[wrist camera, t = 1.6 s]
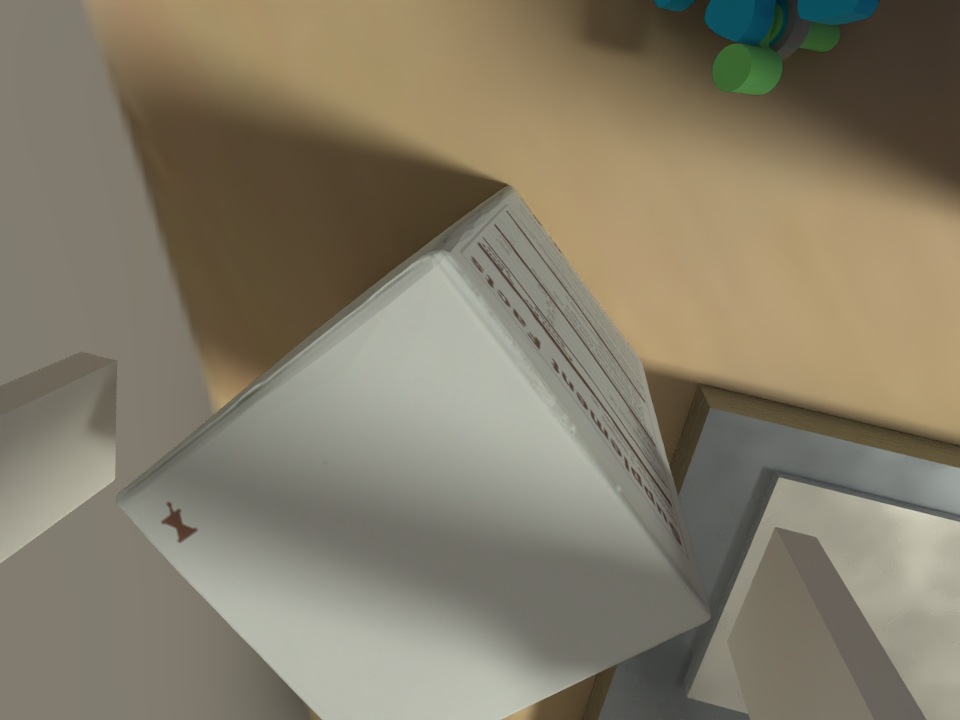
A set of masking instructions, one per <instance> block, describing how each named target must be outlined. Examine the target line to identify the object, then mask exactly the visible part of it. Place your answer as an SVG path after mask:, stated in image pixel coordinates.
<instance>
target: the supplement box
mask: <svg viewBox="0 0 960 720" xmlns="http://www.w3.org/2000/svg"><path fill="white" fill-rule="evenodd" d="M116 502H117V504H118V505H119V506H120V507H121V508H122V509H123V510H124V512H125V513H126V514H127V515H128V516H129V517H130V518H131V520H132V521H133V522H134V523H135V524H136V525H137V527H138V528H139V529H140V530H141V531H142V532H143V533H144V535H145V536H146V537H147V538H148V539H149V540H150V541H151V543H152V544H153V545H154V546H155V547H156V548H157V549H158V550H159V551H160V552H161V553H162V555H163V556H164V557H165V558H166V559H167V560H168V561H169V562H170V563H171V564H172V565H173V566H174V567H175V568H176V569H177V570H178V572H179V573H180V574H181V575H182V576H183V577H184V578H185V579H186V580H187V581H188V582H189V583H190V584H191V585H192V586H193V587H194V588H195V589H196V590H197V591H198V592H199V593H200V595H202V597H203V598H205V599H206V601H207V602H208V603H210V605H211V606H212V607H213V608H214V609H215V610H216V611H217V612H218V613H219V614H220V615H221V616H222V617H223V618H224V619H225V620H226V621H227V622H228V623H229V624H230V626H231V627H232V628H233V629H234V630H235V631H236V632H237V633H238V634H239V635H240V636H241V637H242V638H243V639H244V640H245V641H246V642H247V643H248V644H249V645H250V646H251V647H252V648H253V649H254V650H255V651H256V652H257V653H258V654H259V655H260V656H261V657H262V658H263V659H264V660H265V662H266V663H267V664H268V665H269V666H270V667H271V668H272V669H273V670H274V671H275V672H276V673H277V674H278V675H279V676H280V677H281V678H282V679H283V680H284V681H285V682H286V683H287V685H288V686H289V687H290V688H291V689H292V690H293V691H294V692H295V693H296V694H297V695H298V696H299V697H300V698H301V699H302V700H303V701H304V702H305V703H306V704H307V705H308V706H309V707H310V708H311V709H312V710H313V711H314V712H315V713H316V714H317V715H318V716H319V717H320V718H321V719H322V720H501V719H503V718H505V717H508V716H510V715H512V714H514V713H516V712H518V711H520V710H522V709H524V708H526V707H529V706H531V705H533V704H535V703H537V702H539V701H541V700H543V699H545V698H547V697H549V696H551V695H553V694H556V693H558V692H560V691H562V690H564V689H566V688H568V687H570V686H572V685H574V684H576V683H578V682H581V681H583V680H585V679H587V678H589V677H591V676H593V675H595V674H597V673H599V672H601V671H603V670H606V669H608V668H610V667H612V666H614V665H616V664H618V663H620V662H623V661H625V660H627V659H629V658H631V657H633V656H635V655H638V654H640V653H642V652H644V651H646V650H648V649H650V648H652V647H655V646H657V645H659V644H661V643H663V642H665V641H667V640H668V639H671V638H673V637H675V636H677V635H679V634H682V633H684V632H686V631H688V630H690V629H693V628H695V627H697V626H699V625H701V624H703V623H706V622H707V621H708V620H709V619H711V612H710V608H709V605H708V601H707V597H706V593H705V590H704V586H703V582H702V579H701V575H700V572H699V569H698V566H697V562H696V558H695V554H694V551H693V547H692V544H691V541H690V537H689V534H688V529H687V525H686V521H685V518H684V515H683V511H682V508H681V504H680V501H679V497H678V494H677V490H676V487H675V483H674V480H673V477H672V473H671V470H670V467H669V464H668V460H667V457H666V452H665V448H664V444H663V441H662V437H661V434H660V430H659V426H658V421H657V418H656V414H655V411H654V405H653V403H652V399H651V396H650V392H649V388H648V384H647V380H646V376H645V372H644V368H643V365H642V362H641V359H640V358H639V356H638V355H637V354H636V353H635V351H634V350H633V349H632V348H631V346H630V345H629V343H628V342H627V341H626V339H625V338H624V337H623V335H622V334H621V333H620V331H619V330H618V329H617V327H616V326H615V325H614V323H613V322H612V321H611V319H610V318H609V316H608V315H607V314H606V312H605V311H604V310H603V308H602V307H601V306H600V304H599V303H598V302H597V300H596V299H595V297H594V296H593V295H592V293H591V292H590V291H589V289H588V288H587V287H586V285H585V284H584V282H583V281H582V280H581V278H580V277H579V276H578V274H577V273H576V272H575V270H574V269H573V267H572V266H571V265H570V263H569V262H568V261H567V259H566V258H565V257H564V255H563V254H562V252H561V251H560V250H559V248H558V247H557V246H556V244H555V243H554V242H553V240H552V239H551V237H550V236H549V235H548V233H547V232H546V231H545V229H544V228H543V227H542V225H541V224H540V222H539V221H538V220H537V218H536V217H535V216H534V214H533V213H532V212H531V210H530V209H529V208H528V206H527V205H526V204H525V202H524V201H523V200H522V198H521V197H520V196H519V194H518V193H517V192H516V190H515V189H514V188H513V187H512V186H509V185H508V186H506V187H504V188H503V189H501V190H500V191H498V192H497V193H496V194H494V195H493V196H491V197H490V198H488V199H487V200H486V201H484V202H483V203H481V204H480V205H478V206H477V207H476V208H474V209H473V210H472V211H470V212H469V213H467V214H466V215H465V216H463V217H462V218H461V219H459V220H458V221H457V222H455V223H454V224H453V225H451V226H450V227H449V228H447V229H446V230H444V231H443V232H442V233H440V234H439V235H438V236H437V237H435V238H434V239H433V240H431V241H430V242H429V243H428V244H426V245H425V246H424V247H422V248H421V249H420V250H419V251H417V252H416V253H415V254H413V255H412V256H410V257H409V258H408V259H406V260H405V261H404V262H402V263H401V264H400V265H398V266H397V267H396V268H395V269H393V270H392V271H391V272H389V273H388V274H387V275H385V276H384V277H383V278H382V279H380V280H379V281H378V282H376V283H375V284H374V285H373V286H371V287H370V288H369V289H367V290H366V291H365V292H364V293H362V294H361V295H360V296H358V297H357V298H356V299H355V300H353V301H352V302H351V303H350V304H348V305H347V306H346V307H345V308H343V309H342V310H341V311H339V312H338V313H337V314H336V315H334V316H333V317H332V318H331V319H329V320H328V321H327V322H325V323H324V324H323V325H322V326H320V327H319V328H318V329H317V330H315V331H314V332H313V333H312V334H311V335H309V336H308V337H307V338H306V339H305V340H303V341H302V342H301V343H300V344H298V345H297V346H296V347H295V348H294V349H292V350H291V351H290V352H289V353H288V354H286V355H285V356H284V357H283V358H282V359H280V360H279V361H278V362H277V363H275V364H274V365H273V366H272V367H271V368H269V369H268V370H267V371H266V372H265V373H263V374H262V375H261V376H260V377H259V378H257V379H256V380H255V381H254V382H252V383H251V384H250V385H249V386H248V387H246V388H245V389H244V390H243V391H242V392H241V393H239V394H238V395H237V396H236V397H235V398H233V399H232V400H231V401H230V402H229V403H227V404H226V405H225V406H224V407H223V408H221V409H220V410H219V411H218V412H217V413H215V414H214V415H213V416H212V417H211V418H209V419H208V420H207V421H206V422H205V423H204V424H202V425H201V426H200V427H199V428H197V430H195V431H194V432H193V433H191V434H190V435H189V436H188V437H187V438H185V439H184V440H183V441H182V442H180V444H178V445H177V446H176V447H174V448H173V449H172V450H171V451H169V452H168V453H167V454H166V455H165V456H163V457H162V458H161V459H160V460H158V461H157V462H156V463H155V464H154V465H152V466H151V467H150V468H149V469H148V470H147V471H145V472H144V473H143V474H141V475H140V476H139V477H138V478H137V479H135V480H134V481H133V482H132V483H130V484H129V485H128V486H127V487H125V488H124V489H123V490H122V491H121V492H119V493H118V495H117V499H116Z"/></svg>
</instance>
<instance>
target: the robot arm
mask: <svg viewBox="0 0 960 720" xmlns="http://www.w3.org/2000/svg"><path fill="white" fill-rule="evenodd" d="M116 383H117V361H116V360H112V359H108V358H104V357H100V356H96V355H92V354H88V353H84V352H79V353H77V354H75V355H72V356H70V357H68V358H65V359H63V360H60V361H58V362H56V363H54V364H51V365H49V366H46V367H44V368H42V369H39V370H37V371H34V372H33V373H30V374H28V375H25V376H23V377H20V378H18V379H15V380H13V381H11V382H9V383H7V384H4V385H1V386H0V563H1V562H3V561H4V560H5V559H7V558H8V557H10V556H11V555H12V554H14V553H15V552H17V551H18V550H19V549H20V548H22V547H23V546H25V545H26V544H27V543H29V542H30V541H32V540H33V539H34V538H36V537H37V536H38V535H40V534H41V533H42V532H44V531H45V530H47V529H48V528H49V527H51V526H52V525H53V524H55V523H56V522H58V521H59V520H60V519H62V518H63V517H64V516H66V515H67V514H69V513H70V512H71V511H73V510H74V509H75V508H77V507H78V506H79V505H80V504H82V503H84V502H85V501H86V500H88V499H89V498H90V497H92V496H93V495H95V494H96V493H97V492H99V491H100V490H101V489H103V488H104V487H105V486H107V485H108V484H110V483H111V482H112V481H114V480H115V441H116V388H117V384H116ZM727 644H728V647H729V651H730V654H731V657H732V661H733V664H734V667H735V671H736V674H737V678H738V681H739V684H740V688H741V691H742V694H743V698H744V701H745V704H746V708H747V711H748V714H749V718H750V720H927V719H926V718H925V716H924V714H923V713H922V711H921V709H920V708H919V706H918V705H917V703H916V701H915V700H914V698H913V696H912V695H911V693H910V691H909V690H908V688H907V686H906V685H905V683H904V681H903V680H902V678H901V676H900V675H899V673H898V671H897V670H896V668H895V666H894V665H893V663H892V661H891V660H890V658H889V657H888V655H887V653H886V652H885V650H884V648H883V647H882V645H881V643H880V642H879V640H878V638H877V637H876V635H875V633H874V632H873V630H872V628H871V627H870V625H869V623H868V622H867V620H866V618H865V617H864V615H863V613H862V612H861V610H860V608H859V607H858V605H857V604H856V602H855V600H854V599H853V597H852V595H851V594H850V592H849V590H848V589H847V587H846V585H845V584H844V582H843V580H842V579H841V577H840V575H839V574H838V572H837V570H836V569H835V567H834V565H833V564H832V562H831V560H830V559H829V557H828V556H827V554H826V552H825V551H824V549H823V547H822V546H821V544H820V542H819V541H818V539H817V537H814V536H810V535H806V534H802V533H798V532H794V531H790V530H786V529H782V528H778V527H775V528H774V531H773V533H772V536H771V538H770V540H769V543H768V545H767V547H766V550H765V552H764V555H763V557H762V559H761V562H760V564H759V567H758V569H757V571H756V574H755V576H754V579H753V581H752V583H751V586H750V588H749V590H748V593H747V595H746V598H745V600H744V602H743V605H742V607H741V610H740V612H739V614H738V617H737V619H736V621H735V624H734V626H733V629H732V631H731V633H730V636H729V638H728V641H727Z"/></svg>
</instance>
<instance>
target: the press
mask: <svg viewBox="0 0 960 720" xmlns="http://www.w3.org/2000/svg"><path fill="white" fill-rule="evenodd" d="M670 470H671V473H672V477H673V480H674V483H675V487H676V490H677V494H678V497H679V501H680V504H681V508H682V511H683V515H684V518H685V521H686V525H687V529H688V534H689V537H690V541H691V544H692V547H693V551H694V554H695V558H696V562H697V566H698V569H699V572H700V575H701V579H702V582H703V586H704V590H705V593H706V597H707V601H708V605H709V608H710V612H711V619H709V620H708V621H707V622H706V623H703V624H701V625H699V626H697V627H695V628H693V629H690V630H688V631H686V632H684V633H682V634H679V635H677V636H675V637H673V638H671V639H668V640H667V641H665V642H663V643H661V644H659V645H657V646H655V647H652V648H650V649H648V650H646V651H644V652H642V653H640V654H638V655H635V656H633V657H631V658H629V659H627V660H625V661H623V662H620V663H618V664H616V665H614V666H612V667H610V668H608V669H606V670H603V671H601V672H599V673H598V676H597V679H596V681H595V684H594V687H593V690H592V693H591V696H590V699H589V702H588V704H587V707H586V710H585V713H584V716H583V719H582V720H750V718H749V714H748V711H747V708H746V704H745V701H744V698H743V694H742V691H741V688H740V684H739V681H738V678H737V674H736V671H735V667H734V664H733V661H732V657H731V654H730V651H729V647H728V644H727V641H728V638H729V636H730V633H731V631H732V629H733V626H734V624H735V621H736V619H737V617H738V614H739V612H740V610H741V607H742V605H743V602H744V600H745V598H746V595H747V593H748V590H749V588H750V586H751V583H752V581H753V579H754V576H755V574H756V571H757V569H758V567H759V564H760V562H761V559H762V557H763V555H764V552H765V550H766V547H767V545H768V543H769V540H770V538H771V536H772V533H773V531H774V528H775V527H778V528H782V529H786V530H790V531H794V532H798V533H802V534H806V535H810V536H814V537H817V539H818V541H819V542H820V544H821V546H822V547H823V549H824V551H825V552H826V554H827V556H828V557H829V559H830V560H831V562H832V564H833V565H834V567H835V569H836V570H837V572H838V574H839V575H840V577H841V579H842V580H843V582H844V584H845V585H846V587H847V589H848V590H849V592H850V594H851V595H852V597H853V599H854V600H855V602H856V604H857V605H858V607H859V608H860V610H861V612H862V613H863V615H864V617H865V618H866V620H867V622H868V623H869V625H870V627H871V628H872V630H873V632H874V633H875V635H876V637H877V638H878V640H879V642H880V643H881V645H882V647H883V648H884V650H885V652H886V653H887V655H888V657H889V658H890V660H891V661H892V663H893V665H894V666H895V668H896V670H897V671H898V673H899V675H900V676H901V678H902V680H903V681H904V683H905V685H906V686H907V688H908V690H909V691H910V693H911V695H912V696H913V698H914V700H915V701H916V703H917V705H918V706H919V708H920V709H921V711H922V713H923V714H924V716H925V718H926V719H927V720H960V446H956V445H951V444H947V443H943V442H939V441H935V440H931V439H926V438H922V437H918V436H914V435H910V434H906V433H902V432H897V431H893V430H889V429H885V428H881V427H877V426H872V425H868V424H864V423H860V422H856V421H852V420H847V419H843V418H839V417H835V416H831V415H827V414H823V413H818V412H814V411H810V410H806V409H802V408H798V407H793V406H789V405H785V404H781V403H777V402H773V401H768V400H764V399H760V398H756V397H752V396H748V395H744V394H739V393H735V392H731V391H727V390H723V389H719V388H714V387H710V386H706V385H702V384H699V386H698V389H697V392H696V395H695V398H694V400H693V403H692V406H691V409H690V412H689V415H688V418H687V421H686V423H685V426H684V429H683V432H682V435H681V438H680V441H679V443H678V446H677V449H676V452H675V455H674V458H673V461H672V464H671V466H670Z"/></svg>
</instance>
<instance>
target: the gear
mask: <svg viewBox="0 0 960 720" xmlns="http://www.w3.org/2000/svg"><path fill="white" fill-rule="evenodd" d="M654 1H655V3H656V5H657V7H658V8H663V9H667V10H672V11H677V12H679V11H683V10H685V9H687V8H688V7H690V6H691V5H692V4H693V3H694V2H695V0H654ZM878 2H879V0H711V1H710V3H709V5H708V7H707V10H706V13H705V18H704V21H705V23H706V24H707V25H708V27H709V28H710V29H711V30H712V31H714V32H715V33H716V34H718V35H720V36H722V37H724V38H726V39H729V40H732V41H734V42H736V44H731V45H729V46H726V47H725V48H724V49H723V50H722V51H721V52H720V53H719V54H718V56H717V57H716V59H715V61H714V64H713V68H712V77H713V81H714V84H715V85H716V86H717V88H719V89H720V90H722V91H725V92H734V93H743V94H753V95H762V94H766V93H768V92H769V91H771V90H772V89H773V88H774V87H775V86H776V85H777V83H778V81H779V80H780V77H781V74H782V69H783V66H782V60H784V59H786V58H788V57H789V56H791V55H792V54H793V53H794V52H796V51H797V50H798V49H799V48H805V49H810V50H815V51H820V52H826V51H829V50H831V49H832V48H833V47H835V45H836V44H837V43H838V41H839V39H840V34H841V31H840V28H839V26H838V25H840V24H846V23H851V22H855V21H859V20H862V19H866V18H869V17H871V16H872V14H873V13H874V11H875V10H876V8H877V5H878Z"/></svg>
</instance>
